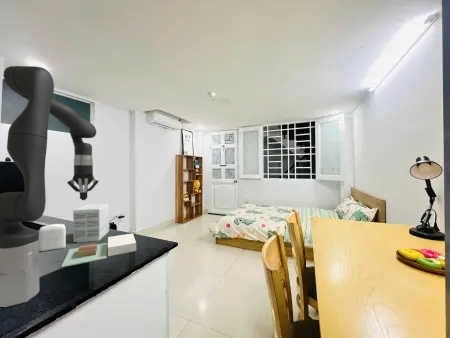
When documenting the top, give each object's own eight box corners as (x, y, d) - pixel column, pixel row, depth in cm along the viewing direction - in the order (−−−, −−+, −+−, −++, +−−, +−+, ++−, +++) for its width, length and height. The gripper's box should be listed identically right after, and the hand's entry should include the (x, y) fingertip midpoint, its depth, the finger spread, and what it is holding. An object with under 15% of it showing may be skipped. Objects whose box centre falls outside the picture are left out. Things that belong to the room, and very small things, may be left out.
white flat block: (136, 250, 97) (136, 242, 97) (107, 256, 91) (107, 247, 91) (132, 240, 111) (132, 233, 111) (108, 244, 105) (108, 237, 105)
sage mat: (106, 258, 89) (106, 257, 89) (61, 267, 81) (61, 266, 81) (107, 243, 107) (107, 242, 107) (69, 249, 98) (69, 249, 98)
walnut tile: (77, 252, 88) (77, 258, 89) (95, 249, 92) (95, 254, 92) (79, 245, 96) (80, 250, 96) (97, 243, 100) (97, 248, 100)
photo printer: (66, 245, 105) (66, 221, 104) (65, 248, 101) (65, 223, 101) (40, 249, 99) (39, 225, 99) (38, 252, 95) (37, 227, 95)
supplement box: (86, 232, 124) (85, 204, 124) (109, 231, 127) (109, 203, 127) (72, 243, 107) (72, 209, 107) (99, 240, 111) (99, 208, 111)
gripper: (64, 164, 90) (64, 202, 90) (98, 164, 97) (99, 200, 97) (68, 164, 97) (68, 200, 97) (100, 164, 103) (100, 197, 103)
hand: (83, 199), depth 97 cm, fingers closed
